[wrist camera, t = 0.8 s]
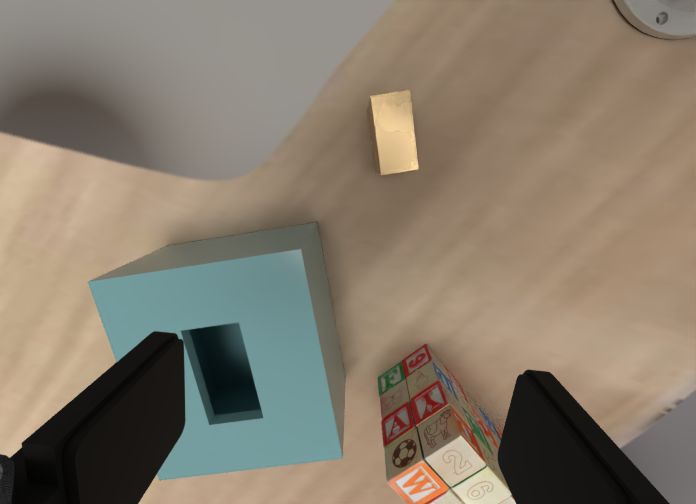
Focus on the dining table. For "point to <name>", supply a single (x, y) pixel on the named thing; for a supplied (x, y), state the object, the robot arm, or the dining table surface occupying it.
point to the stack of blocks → (437, 437)
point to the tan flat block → (392, 132)
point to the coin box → (239, 346)
